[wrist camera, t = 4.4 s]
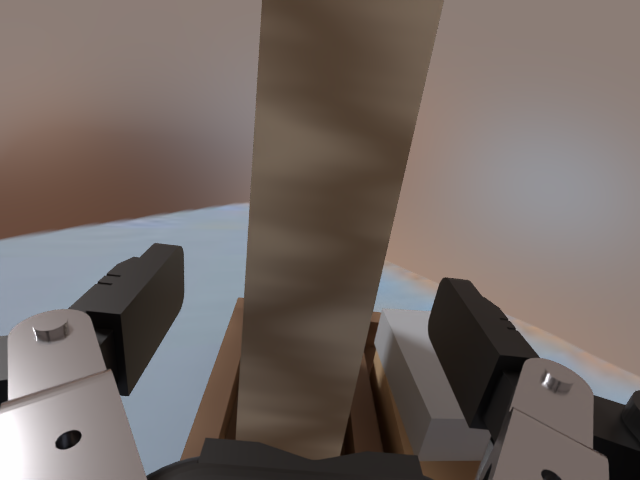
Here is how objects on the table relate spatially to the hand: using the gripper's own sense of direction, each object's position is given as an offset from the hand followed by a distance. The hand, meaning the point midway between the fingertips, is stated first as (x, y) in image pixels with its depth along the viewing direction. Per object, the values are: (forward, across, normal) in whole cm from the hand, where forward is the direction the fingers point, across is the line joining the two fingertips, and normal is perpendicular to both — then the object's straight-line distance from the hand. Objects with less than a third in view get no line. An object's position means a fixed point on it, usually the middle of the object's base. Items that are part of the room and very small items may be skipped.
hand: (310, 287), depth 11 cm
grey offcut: (+4, -7, +8) cm, 11 cm away
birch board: (+3, 0, +10) cm, 10 cm away
